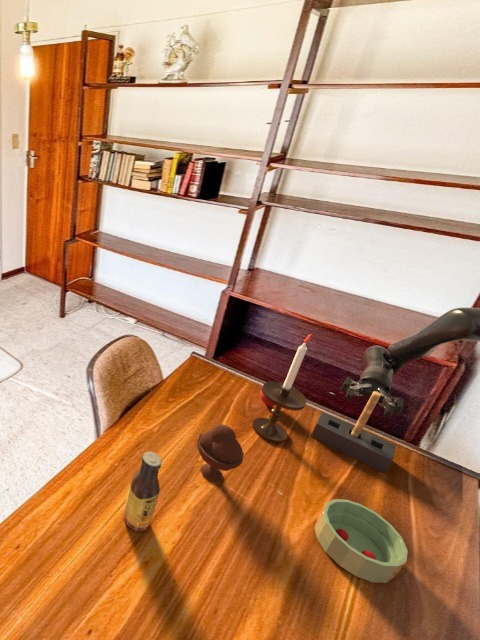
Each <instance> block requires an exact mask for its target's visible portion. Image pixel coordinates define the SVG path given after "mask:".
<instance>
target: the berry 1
mask: <svg viewBox="0 0 480 640" xmlns="http://www.w3.org/2000/svg"><path fill="white" fill-rule="evenodd" d="M336 533H337V534H338V535H339V536H340V537H341V538H342V539H343V540H344V541H347V540H348V538H349V536H348V534H347V532H346V531H344V530H343V529H337V530H336Z"/></svg>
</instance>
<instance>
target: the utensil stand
mask: <svg viewBox="0 0 480 640" xmlns="http://www.w3.org/2000/svg"><path fill="white" fill-rule="evenodd" d="M354 427H355V425H354V424H353V425H352V424H350V423H349V422H346V421H344V420H342V419H340V418H337V417H336V416H334V415H331V414H328V413H326V412H325V411H321V413H320V415H319V417H318V419H317V421H316V423H315V425H314V428H313V429H312V432H311V434H310V437H311V438H314V439H316V440H318V441H320V442H322V443H324V444H326V445H327V446H329V447H331V448H333V449H335V450H337V451H339V452H340V453H341V452H342V453H344V454H345V455H348V456H349V457H352V458H353V459H356V460H357V461H359V462H362V464H363V463H364V464H366V465H367V466H370V467H372V468H374V469H376V470H377V471H380V472H381V473H383V474H386V472H387V471H388V469H389V468H390V466H391V465H392V463H393V461H394V457H395V453H396V447H397V445H396V444H394V443H392V442H390V441H387V440H385V439H383V438H381V437H379V436H377V435H374V434H372V433H370V432H368V431H366V430H364V429H362V431H361V433H360V435H359V436H358V438H356V437H354V436H352V435H350V434H351V432H352V431H353V429H354Z"/></svg>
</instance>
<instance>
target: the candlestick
mask: <svg viewBox="0 0 480 640" xmlns="http://www.w3.org/2000/svg"><path fill="white" fill-rule="evenodd" d="M312 335H313V333H310V334H308V335H307V337H306V338H305V339H304V340H303V341H304V342H303V344H301V345H298V348H297V350H296V353H295V356H294V358H293V360H292V363H291V365H290V368H289V370H288V372H287V375H286V378H285V380H284V381H273V380H271V381H266V382H265V383H263V385H262V386H261V387H262V388H261V390H262V393H263V395H264V396H265V397H266V398H267V399H268V400H269V401H270V402H272V403H273V404H275V407H272V408H271V414H270V415H269V417H268V418H266V417H257V418H255V419H254V420H253V421H252V424H251V427H252V430H253V431H254V432H255V434H256V435H258V437H260V438H262V439H264V440H265V441H267V442H270V443H275V444H282V443H284V442H286V440H287V438H288V432H287V430H286V429H285V427H283V426H282V425H281V424H280V423H279V421H280V417H281V416H283V412H282V409H285V410H288V411H301V410H303V409H304V408H305V407H306V406H307V398H306V396H305V395H304V394H303V393H302V392H301V390H298V389H297V388H295V386H294V385H293V384H294V382H295V379H296V377H297V374H298V373H299V369H300V367H301V365H302V362H303V360H304V358H305V355H306V353H307V351H308V348H307V343H308V342H309V341H310V339H311V336H312Z"/></svg>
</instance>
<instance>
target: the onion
mask: <svg viewBox="0 0 480 640" xmlns="http://www.w3.org/2000/svg"><path fill="white" fill-rule="evenodd" d="M259 398H260V399H261V401H262V402H263V404H264V405H265V406H267V407H276V405H275V404H273V403H272V402H270V401H269V400H268V399H267V398H266V397H265V396H264V395H263V393H262V389H261V390H260V391H259Z"/></svg>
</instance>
